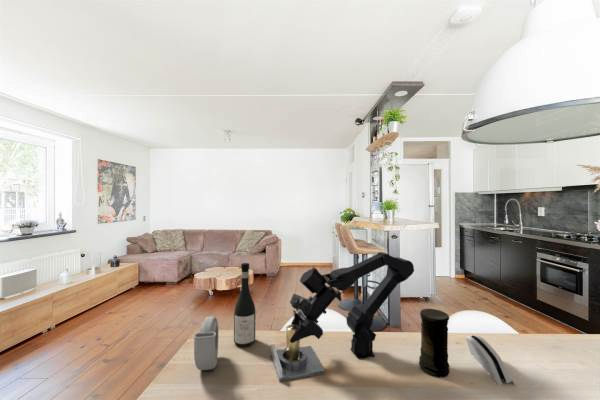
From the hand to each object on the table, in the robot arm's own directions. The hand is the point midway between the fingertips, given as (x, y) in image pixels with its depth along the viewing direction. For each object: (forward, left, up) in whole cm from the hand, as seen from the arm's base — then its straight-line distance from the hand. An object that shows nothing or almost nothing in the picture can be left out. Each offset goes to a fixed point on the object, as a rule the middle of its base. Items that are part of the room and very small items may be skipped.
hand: (289, 338), depth 90 cm
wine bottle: (+13, -18, -9) cm, 24 cm away
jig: (-3, 0, -9) cm, 9 cm away
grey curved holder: (+26, -6, -9) cm, 28 cm away
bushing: (-1, 0, -7) cm, 7 cm away
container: (-45, +14, -9) cm, 48 cm away
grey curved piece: (-62, +18, -9) cm, 65 cm away
